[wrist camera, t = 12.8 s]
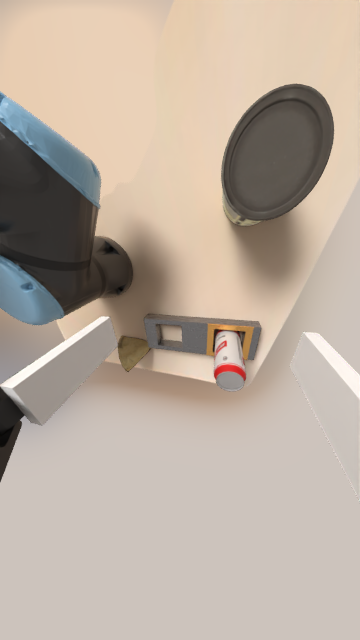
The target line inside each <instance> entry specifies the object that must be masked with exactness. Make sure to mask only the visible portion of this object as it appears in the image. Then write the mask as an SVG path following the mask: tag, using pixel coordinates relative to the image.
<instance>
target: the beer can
mask: <svg viewBox="0 0 360 640" xmlns="http://www.w3.org/2000/svg"><path fill="white" fill-rule="evenodd" d="M214 377H215V379H216V383H217V385H218V386H219V387H220V388H221V389H224V390H226V391H238V390H240V389H241V388H243V386H244V381H245V379H246V370H245V364H244V358H243V353H242V347H241V341H240V336H239V333H238V332H237V331H233V330H221V329H220V330H219V331H218V332H217V334H216V339H215V357H214Z"/></svg>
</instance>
